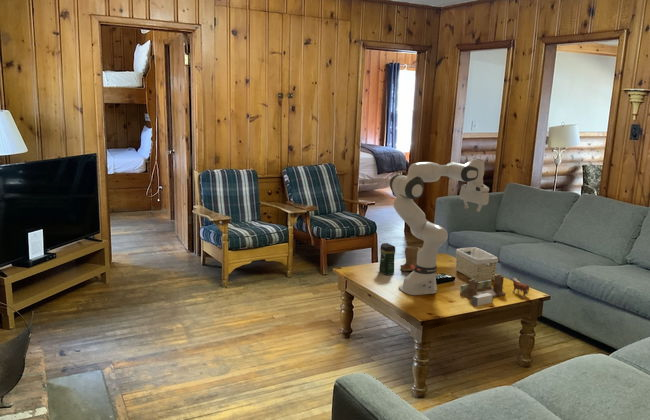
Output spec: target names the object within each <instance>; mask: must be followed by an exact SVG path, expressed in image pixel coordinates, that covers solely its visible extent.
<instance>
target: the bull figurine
mask: <svg viewBox="0 0 650 420" xmlns="http://www.w3.org/2000/svg"><path fill="white" fill-rule="evenodd" d="M510 280H511V281H512V282H513V284H512V285H513V291H512V292H514V293H515V292H516V290H517V292H516V293H517V294H520V292H523V295H522V298H525V296H526V295H527V296H528V294H529V290H530V286H529V285H528V284H526V283H523V282H521V281H520V279H517V277H513V278H511V279H510Z"/></svg>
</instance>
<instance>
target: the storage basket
mask: <svg viewBox="0 0 650 420" xmlns="http://www.w3.org/2000/svg"><path fill="white" fill-rule="evenodd" d="M468 253H470V254H468ZM455 258H456V259H455V268H456V271H458V272H459V273H461V274H462V275H464V276H466V277H468V278H469V279H470V280H471V279H475V280H476V281H478V282H481V281H486V280H494V277H495V275H496V272H497V268H498V262H499V257H498V256H495V255H494V254H492V253H490V252H488V251H485V250H483V249H481V248H478V247H476V246H475V247H474V246H473V247H461V248H456V250H455Z"/></svg>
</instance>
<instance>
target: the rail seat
mask: <svg viewBox="0 0 650 420" xmlns="http://www.w3.org/2000/svg"><path fill="white" fill-rule="evenodd" d="M504 277H505V276H503V275H502V274H501V273H498V274H495V277H494V279H492V280H493V286H492V280H484V281H476V280H475V279H471V278H470V279H468V283H466V284H461V285H460V290H459V291H460V292H459V294H460V295H461V296H463V297H465V298H467V299H469V300H471V301H472V296H475V295H480V294H485V293H490V294H493V299H494V298H497V297H504V296H506V292H504V291H503V288H504V287H503V286H504V279H505V278H504Z"/></svg>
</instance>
